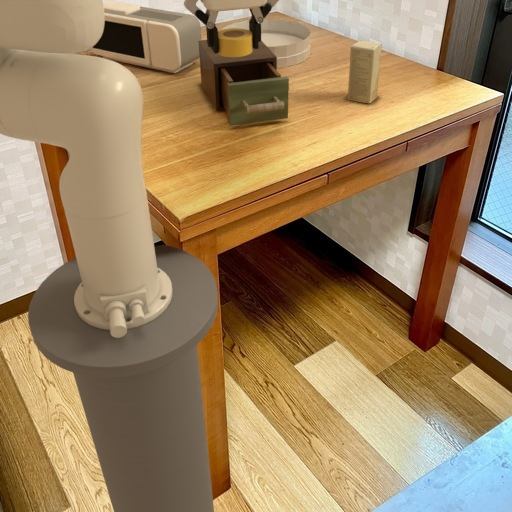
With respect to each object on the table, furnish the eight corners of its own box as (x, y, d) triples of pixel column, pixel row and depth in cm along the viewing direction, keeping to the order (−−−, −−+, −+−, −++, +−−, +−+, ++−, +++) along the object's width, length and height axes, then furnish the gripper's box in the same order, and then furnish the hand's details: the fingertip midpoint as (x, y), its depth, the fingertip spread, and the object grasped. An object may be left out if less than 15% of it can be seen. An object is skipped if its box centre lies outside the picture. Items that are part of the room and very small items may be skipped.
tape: (257, 55, 97) (256, 37, 95) (221, 59, 95) (220, 41, 94) (247, 43, 101) (246, 26, 99) (212, 47, 100) (211, 30, 98)
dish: (214, 41, 153) (213, 21, 150) (297, 35, 157) (298, 16, 154) (227, 72, 136) (227, 50, 133) (321, 64, 139) (322, 43, 136)
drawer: (295, 127, 111) (296, 86, 106) (235, 135, 108) (234, 94, 104) (267, 92, 124) (267, 54, 120) (214, 98, 122) (212, 60, 117)
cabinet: (276, 103, 122) (276, 56, 116) (216, 111, 119) (213, 63, 113) (256, 78, 133) (256, 34, 127) (201, 85, 130) (198, 40, 124)
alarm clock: (89, 58, 145) (80, 6, 138) (114, 46, 151) (107, -3, 144) (180, 77, 134) (175, 23, 127) (203, 64, 140) (200, 12, 133)
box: (377, 97, 124) (384, 43, 117) (369, 104, 121) (375, 49, 114) (354, 92, 126) (359, 39, 119) (345, 99, 123) (350, 45, 116)
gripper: (175, -67, 82) (187, 62, 93) (294, -75, 86) (291, 50, 97) (167, -76, 88) (178, 47, 99) (278, -83, 92) (277, 36, 103)
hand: (234, 47), depth 98 cm, fingers closed on tape, 6 cm apart
